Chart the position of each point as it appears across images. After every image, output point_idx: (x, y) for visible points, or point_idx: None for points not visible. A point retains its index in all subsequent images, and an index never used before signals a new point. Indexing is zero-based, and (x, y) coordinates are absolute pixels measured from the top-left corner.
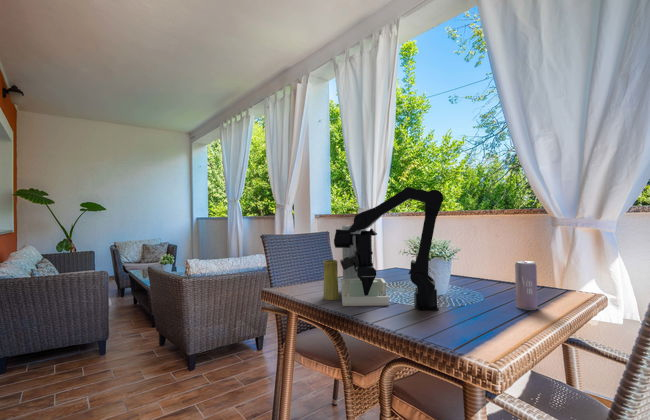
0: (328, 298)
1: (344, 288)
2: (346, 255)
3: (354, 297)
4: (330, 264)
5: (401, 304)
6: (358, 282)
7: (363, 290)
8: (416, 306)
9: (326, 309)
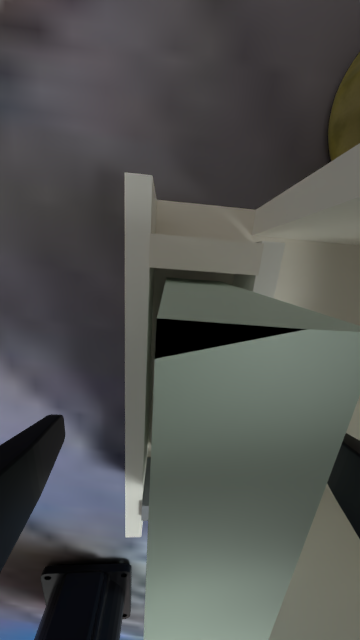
0: (356, 67)
1: (327, 206)
2: None
3: (126, 311)
4: None
5: (146, 521)
6: (150, 510)
7: (21, 450)
8: (67, 572)
9: (29, 15)
